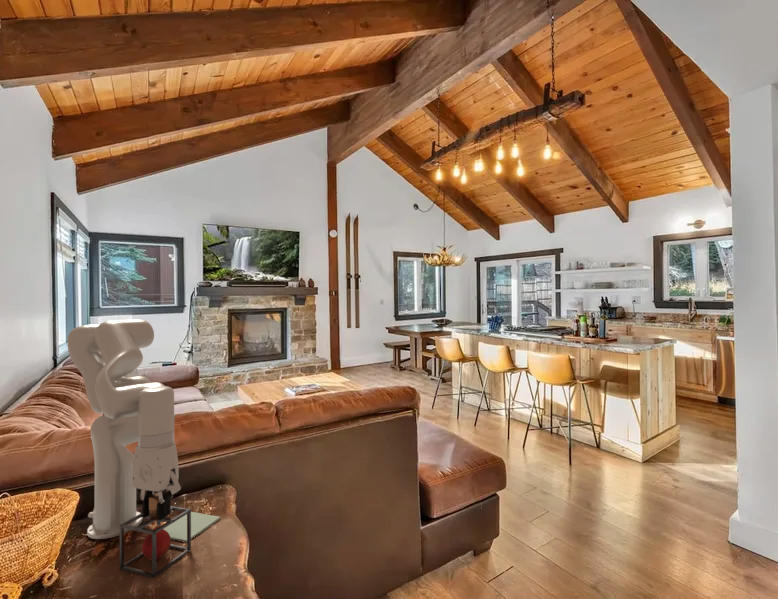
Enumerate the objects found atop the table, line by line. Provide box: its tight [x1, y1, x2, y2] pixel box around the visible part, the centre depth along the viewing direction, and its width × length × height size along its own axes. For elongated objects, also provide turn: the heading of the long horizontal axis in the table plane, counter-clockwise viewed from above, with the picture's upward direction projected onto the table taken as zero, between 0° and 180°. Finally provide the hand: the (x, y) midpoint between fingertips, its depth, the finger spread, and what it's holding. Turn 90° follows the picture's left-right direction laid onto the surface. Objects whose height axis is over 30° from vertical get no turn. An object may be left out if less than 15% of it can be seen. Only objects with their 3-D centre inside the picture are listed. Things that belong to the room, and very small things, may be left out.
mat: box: [164, 511, 221, 543], centre depth 107 cm, size 12×12×1 cm
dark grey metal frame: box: [119, 492, 192, 579], centre depth 93 cm, size 10×10×15 cm
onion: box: [141, 524, 172, 561], centre depth 93 cm, size 6×6×8 cm
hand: (156, 515), depth 93 cm, fingers open, 3 cm apart
